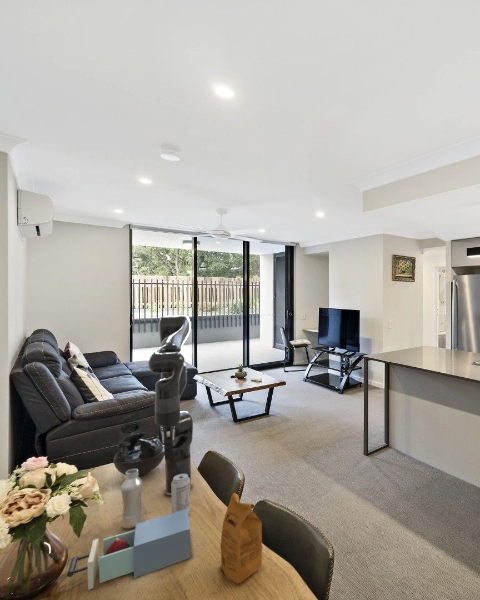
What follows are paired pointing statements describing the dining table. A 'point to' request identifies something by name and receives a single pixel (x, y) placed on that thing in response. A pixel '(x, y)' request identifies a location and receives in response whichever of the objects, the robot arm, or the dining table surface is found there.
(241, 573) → the coffee package
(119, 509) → the dining table surface
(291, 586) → the dining table surface
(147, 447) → the coal bowl
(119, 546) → the onion
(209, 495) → the dining table surface
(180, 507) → the energy drink can
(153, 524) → the cabinet
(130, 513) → the plastic bottle
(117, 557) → the drawer
